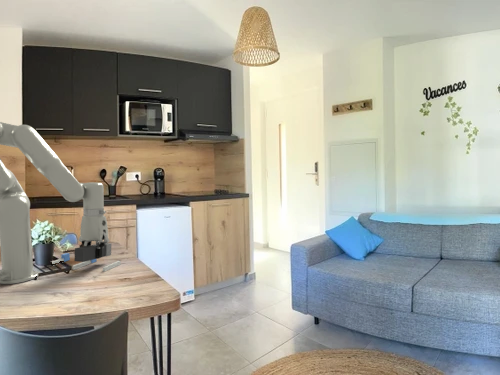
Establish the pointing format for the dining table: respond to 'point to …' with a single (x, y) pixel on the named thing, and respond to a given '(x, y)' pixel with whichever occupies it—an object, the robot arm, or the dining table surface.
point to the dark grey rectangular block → (90, 252)
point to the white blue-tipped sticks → (67, 257)
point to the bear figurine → (72, 250)
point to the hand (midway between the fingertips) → (93, 257)
